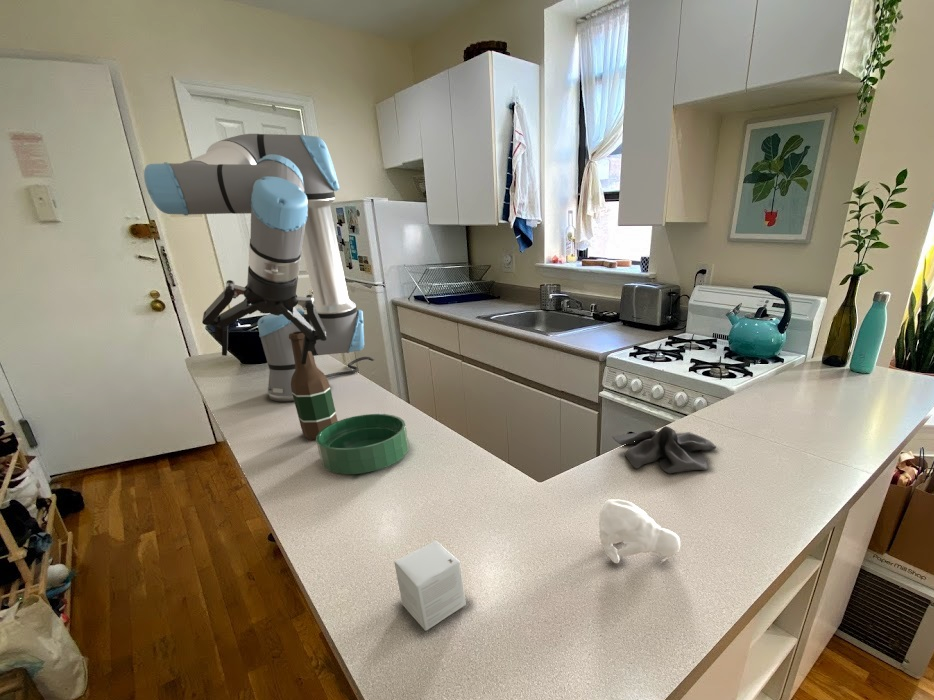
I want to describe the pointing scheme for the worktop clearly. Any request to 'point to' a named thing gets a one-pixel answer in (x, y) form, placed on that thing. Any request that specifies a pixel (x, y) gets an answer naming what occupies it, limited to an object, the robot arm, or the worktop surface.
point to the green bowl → (362, 443)
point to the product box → (430, 584)
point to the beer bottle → (310, 392)
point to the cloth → (667, 449)
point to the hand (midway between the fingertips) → (265, 355)
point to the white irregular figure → (633, 532)
